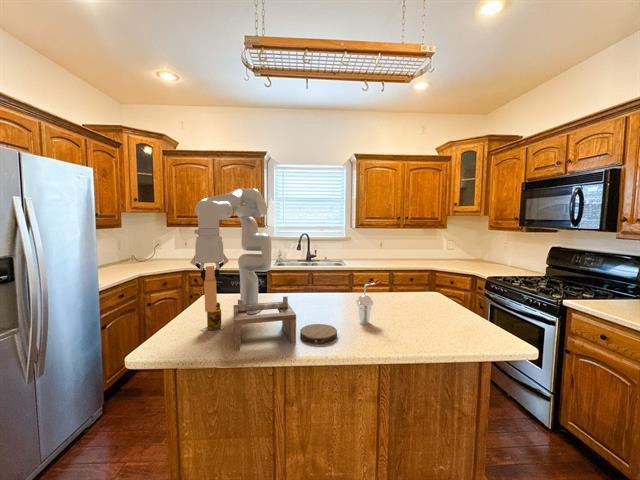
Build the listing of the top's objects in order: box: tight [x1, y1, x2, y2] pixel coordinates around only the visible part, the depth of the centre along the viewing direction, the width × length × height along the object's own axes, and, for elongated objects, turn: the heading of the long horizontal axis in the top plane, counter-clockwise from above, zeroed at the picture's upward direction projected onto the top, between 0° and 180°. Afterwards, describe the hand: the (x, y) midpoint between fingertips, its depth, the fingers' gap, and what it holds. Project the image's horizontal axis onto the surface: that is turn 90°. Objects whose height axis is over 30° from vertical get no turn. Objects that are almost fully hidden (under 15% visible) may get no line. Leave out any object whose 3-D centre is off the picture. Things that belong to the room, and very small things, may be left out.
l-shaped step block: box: [203, 265, 218, 313], centre depth 116 cm, size 8×4×16 cm, turn 18°
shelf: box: [232, 295, 297, 351], centre depth 127 cm, size 20×24×17 cm
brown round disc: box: [299, 323, 338, 345], centre depth 129 cm, size 16×16×3 cm
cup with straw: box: [355, 282, 377, 325], centre depth 146 cm, size 8×9×20 cm
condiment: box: [200, 301, 225, 334], centre depth 136 cm, size 7×8×12 cm
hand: (210, 279), depth 116 cm, fingers closed on l-shaped step block, 4 cm apart
